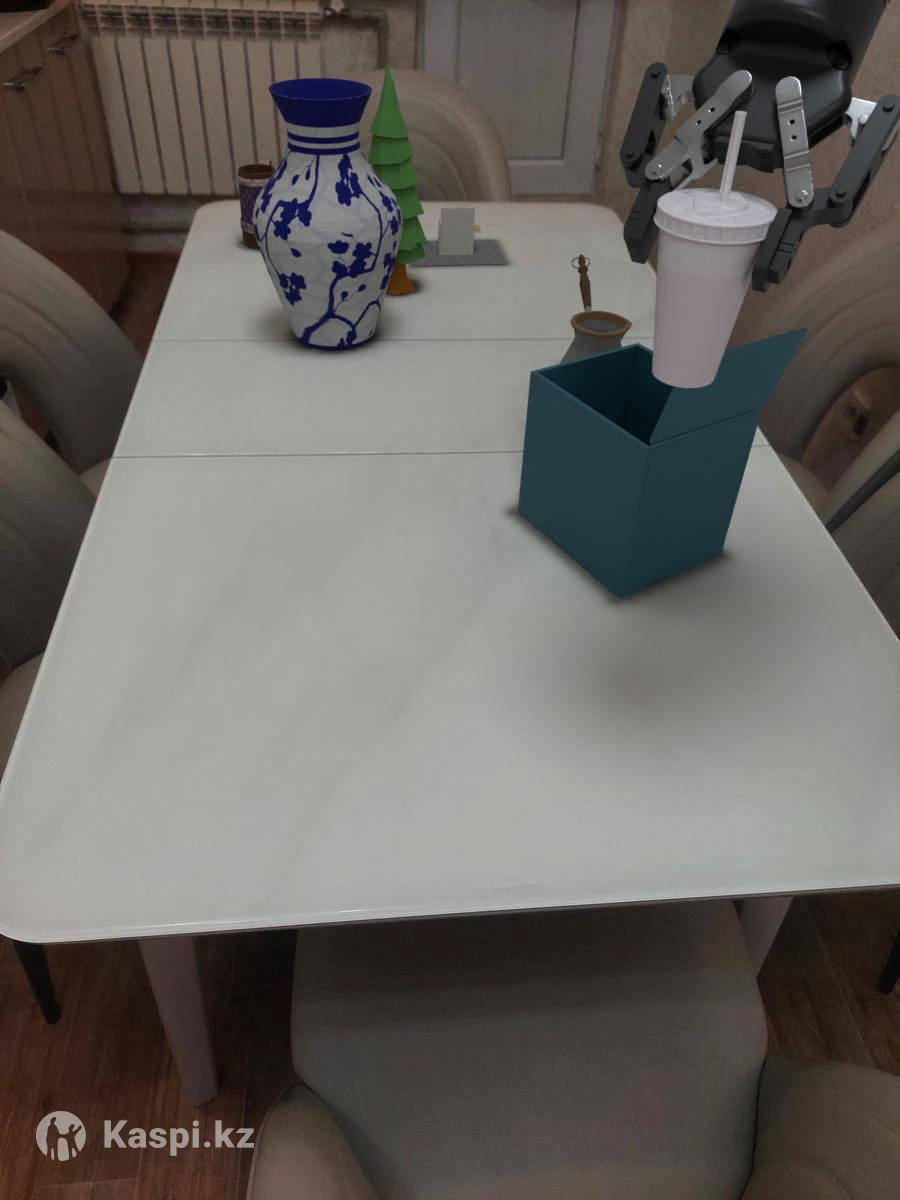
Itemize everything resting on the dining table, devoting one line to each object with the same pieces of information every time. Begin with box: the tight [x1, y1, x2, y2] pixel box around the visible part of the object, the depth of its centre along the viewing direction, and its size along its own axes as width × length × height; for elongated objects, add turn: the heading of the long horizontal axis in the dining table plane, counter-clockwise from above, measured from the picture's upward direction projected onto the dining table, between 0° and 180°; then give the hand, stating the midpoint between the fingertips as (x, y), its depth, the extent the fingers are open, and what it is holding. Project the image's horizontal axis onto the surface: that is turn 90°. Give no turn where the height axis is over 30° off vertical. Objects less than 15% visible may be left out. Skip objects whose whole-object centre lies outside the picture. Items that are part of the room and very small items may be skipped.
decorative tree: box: [367, 61, 429, 296], centre depth 127 cm, size 10×9×30 cm
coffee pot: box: [559, 254, 633, 364], centre depth 104 cm, size 21×12×15 cm, turn 2°
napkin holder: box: [436, 204, 482, 256], centre depth 147 cm, size 3×7×7 cm, turn 98°
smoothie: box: [652, 111, 778, 388], centre depth 49 cm, size 6×6×14 cm
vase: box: [252, 77, 403, 351], centre depth 113 cm, size 19×19×30 cm
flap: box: [649, 326, 809, 444], centre depth 70 cm, size 8×13×1 cm
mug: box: [237, 157, 277, 250], centre depth 148 cm, size 10×7×12 cm
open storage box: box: [517, 342, 762, 599], centre depth 84 cm, size 16×13×16 cm
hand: (695, 269), depth 48 cm, fingers closed on smoothie, 6 cm apart
